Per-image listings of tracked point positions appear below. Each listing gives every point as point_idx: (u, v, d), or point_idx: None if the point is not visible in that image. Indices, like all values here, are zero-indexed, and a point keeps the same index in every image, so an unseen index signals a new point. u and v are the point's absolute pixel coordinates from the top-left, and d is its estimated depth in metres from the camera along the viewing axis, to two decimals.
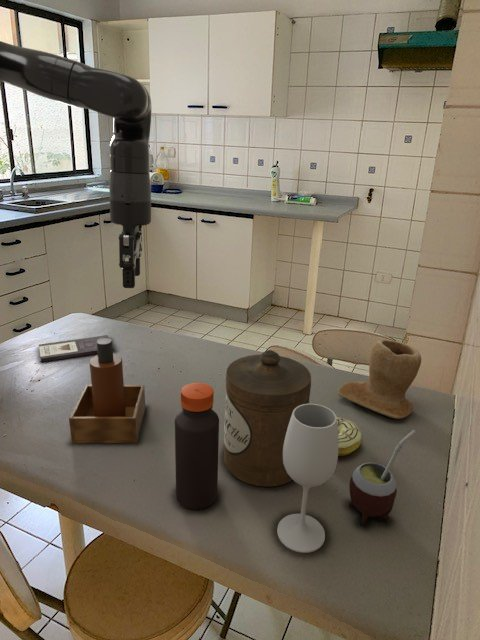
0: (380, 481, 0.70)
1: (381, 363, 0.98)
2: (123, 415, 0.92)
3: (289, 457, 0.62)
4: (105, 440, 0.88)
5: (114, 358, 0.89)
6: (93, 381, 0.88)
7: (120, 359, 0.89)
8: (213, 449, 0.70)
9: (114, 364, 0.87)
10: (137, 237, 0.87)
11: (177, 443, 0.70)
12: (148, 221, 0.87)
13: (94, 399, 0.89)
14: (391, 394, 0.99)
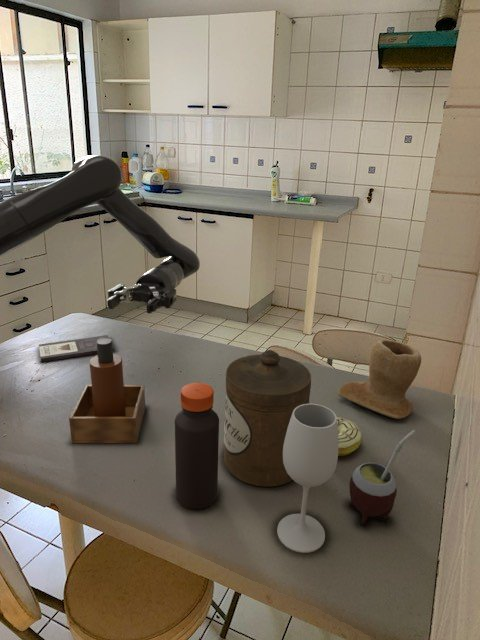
0: (380, 481, 0.70)
1: (381, 363, 0.98)
2: (123, 415, 0.92)
3: (289, 457, 0.62)
4: (105, 440, 0.88)
5: (114, 358, 0.89)
6: (93, 381, 0.88)
7: (120, 359, 0.89)
8: (213, 449, 0.70)
9: (114, 364, 0.87)
10: None
11: (177, 443, 0.70)
12: None
13: (94, 399, 0.89)
14: (391, 394, 0.99)
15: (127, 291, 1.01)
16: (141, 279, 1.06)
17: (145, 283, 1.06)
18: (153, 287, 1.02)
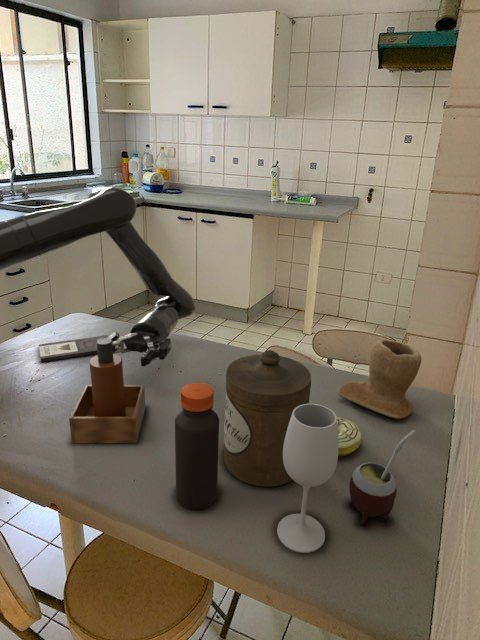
0: (380, 481, 0.70)
1: (381, 363, 0.98)
2: (123, 415, 0.92)
3: (289, 457, 0.62)
4: (105, 440, 0.88)
5: (114, 358, 0.89)
6: (93, 381, 0.88)
7: (120, 359, 0.89)
8: (213, 449, 0.70)
9: (114, 364, 0.87)
10: None
11: (177, 443, 0.70)
12: None
13: (94, 399, 0.89)
14: (391, 394, 0.99)
15: (122, 341, 1.02)
16: (136, 327, 1.06)
17: (140, 331, 1.06)
18: (148, 337, 1.03)
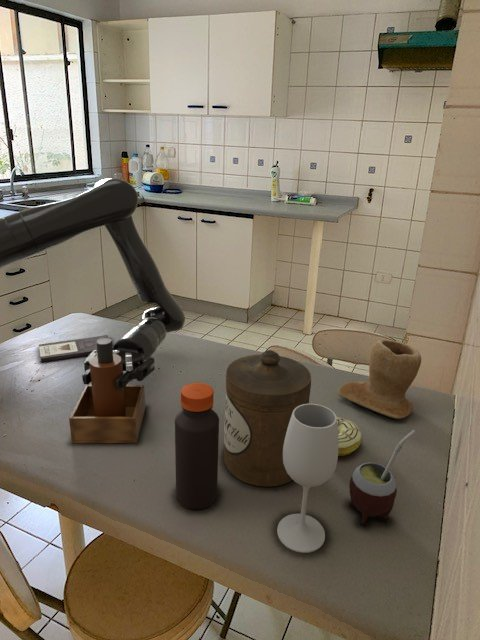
0: (380, 481, 0.70)
1: (381, 363, 0.98)
2: (123, 415, 0.92)
3: (289, 457, 0.62)
4: (105, 440, 0.88)
5: (114, 358, 0.89)
6: (93, 381, 0.87)
7: (120, 359, 0.89)
8: (213, 449, 0.70)
9: (114, 364, 0.87)
10: None
11: (177, 443, 0.70)
12: None
13: (94, 399, 0.89)
14: (391, 394, 0.99)
15: None
16: (118, 344, 0.98)
17: (123, 348, 0.98)
18: (130, 355, 0.94)
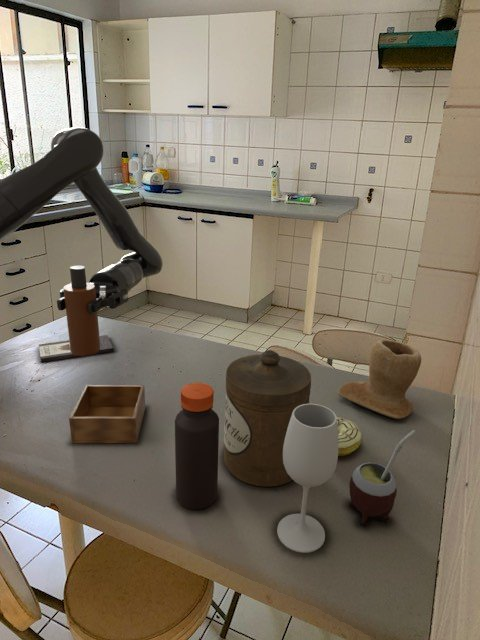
0: (380, 481, 0.70)
1: (381, 363, 0.98)
2: (97, 342, 0.96)
3: (289, 457, 0.62)
4: (105, 440, 0.88)
5: (87, 285, 0.93)
6: (67, 306, 0.92)
7: (93, 286, 0.93)
8: (213, 449, 0.70)
9: (86, 289, 0.91)
10: None
11: (177, 443, 0.70)
12: None
13: (68, 324, 0.93)
14: (391, 394, 0.99)
15: None
16: (94, 278, 1.02)
17: (98, 281, 1.02)
18: (104, 286, 0.98)
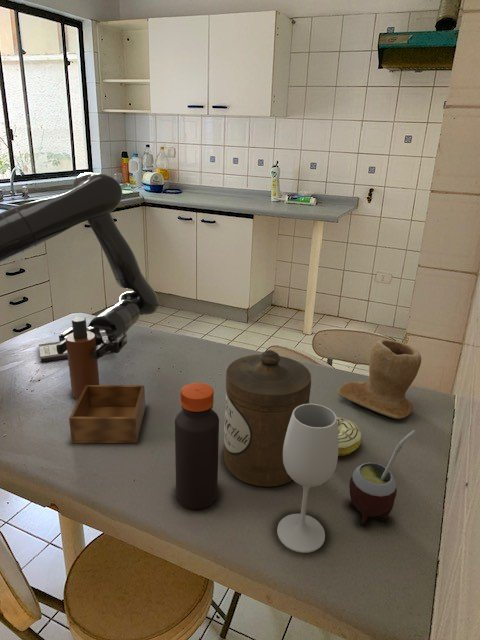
0: (380, 481, 0.70)
1: (381, 363, 0.98)
2: None
3: (289, 457, 0.62)
4: (105, 440, 0.88)
5: (88, 334, 1.00)
6: (69, 355, 0.98)
7: (93, 335, 1.00)
8: (213, 449, 0.70)
9: (87, 339, 0.98)
10: None
11: (177, 443, 0.70)
12: None
13: (70, 371, 1.00)
14: (391, 394, 0.99)
15: None
16: (93, 321, 1.08)
17: (97, 325, 1.08)
18: (104, 331, 1.05)
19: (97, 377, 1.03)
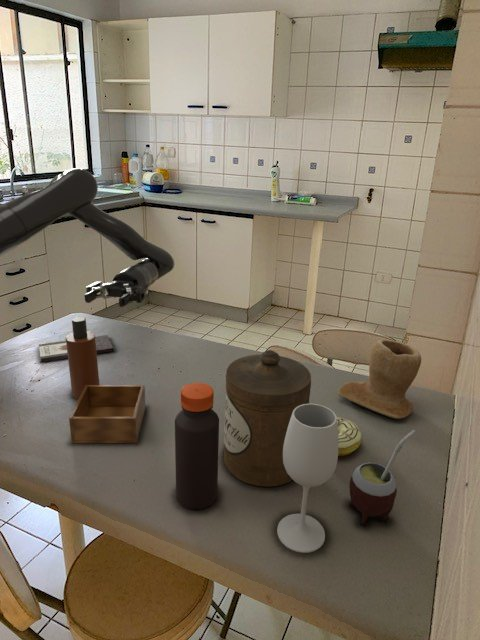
0: (380, 481, 0.70)
1: (381, 363, 0.98)
2: None
3: (289, 457, 0.62)
4: (105, 440, 0.88)
5: (88, 334, 1.00)
6: (69, 355, 0.98)
7: (93, 335, 1.00)
8: (213, 449, 0.70)
9: (87, 339, 0.98)
10: None
11: (177, 443, 0.70)
12: None
13: (70, 371, 1.00)
14: (391, 394, 0.99)
15: (103, 287, 1.13)
16: (117, 277, 1.17)
17: (121, 280, 1.17)
18: (127, 284, 1.14)
19: (97, 377, 1.03)
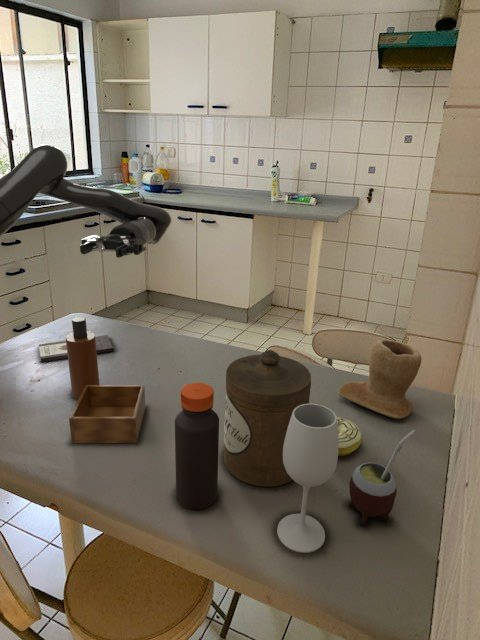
0: (380, 481, 0.70)
1: (381, 363, 0.98)
2: None
3: (289, 457, 0.62)
4: (105, 440, 0.88)
5: (88, 334, 1.00)
6: (69, 355, 0.98)
7: (93, 335, 1.00)
8: (213, 449, 0.70)
9: (87, 339, 0.98)
10: None
11: (177, 443, 0.70)
12: None
13: (70, 371, 1.00)
14: (391, 394, 0.99)
15: (99, 239, 1.09)
16: (113, 230, 1.13)
17: (117, 234, 1.13)
18: (124, 236, 1.10)
19: (97, 377, 1.03)
